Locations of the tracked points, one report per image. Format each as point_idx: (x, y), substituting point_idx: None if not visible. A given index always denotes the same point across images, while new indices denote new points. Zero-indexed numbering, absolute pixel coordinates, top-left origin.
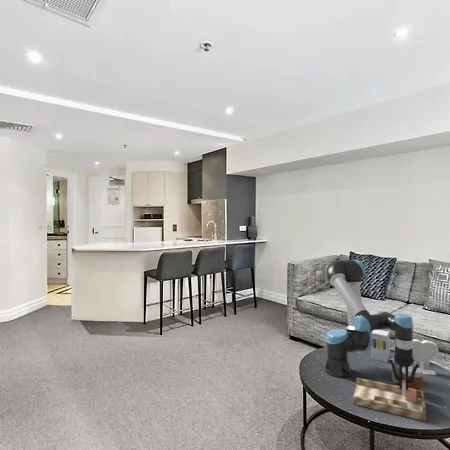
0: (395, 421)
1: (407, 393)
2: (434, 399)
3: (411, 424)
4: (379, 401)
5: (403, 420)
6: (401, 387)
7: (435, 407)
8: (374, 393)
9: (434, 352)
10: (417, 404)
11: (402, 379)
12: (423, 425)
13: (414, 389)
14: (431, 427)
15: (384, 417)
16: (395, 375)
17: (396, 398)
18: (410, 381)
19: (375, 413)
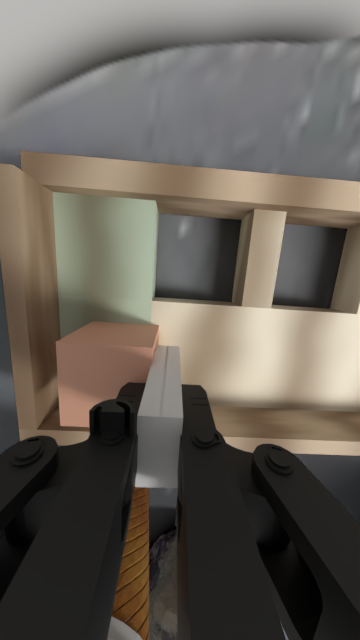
0: (239, 98)
1: (137, 342)
2: (11, 440)
3: (144, 101)
4: (358, 206)
5: (188, 134)
6: (186, 388)
7: (6, 363)
8: (351, 341)
9: None
10: (86, 304)
11: (157, 560)
12: (73, 121)
13: (70, 418)
14: (27, 116)
15: (302, 122)
16: (351, 541)
17: (215, 331)
18: (39, 455)
19: (351, 152)
